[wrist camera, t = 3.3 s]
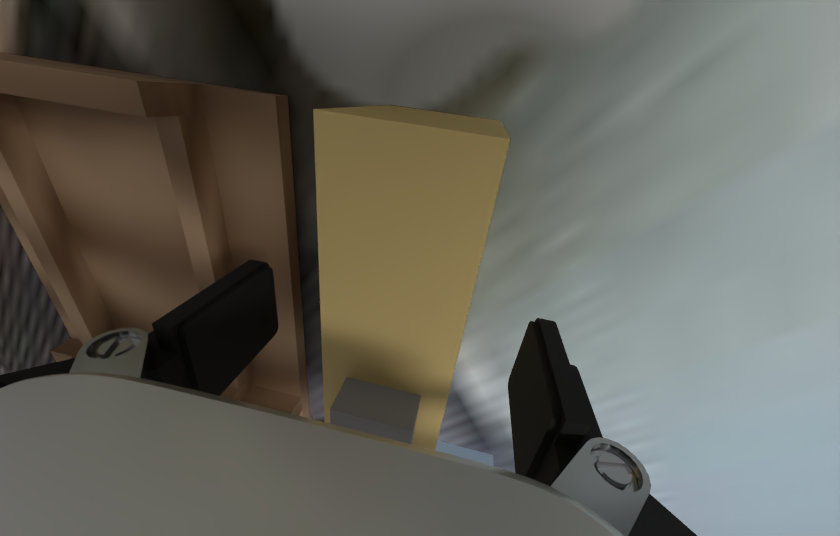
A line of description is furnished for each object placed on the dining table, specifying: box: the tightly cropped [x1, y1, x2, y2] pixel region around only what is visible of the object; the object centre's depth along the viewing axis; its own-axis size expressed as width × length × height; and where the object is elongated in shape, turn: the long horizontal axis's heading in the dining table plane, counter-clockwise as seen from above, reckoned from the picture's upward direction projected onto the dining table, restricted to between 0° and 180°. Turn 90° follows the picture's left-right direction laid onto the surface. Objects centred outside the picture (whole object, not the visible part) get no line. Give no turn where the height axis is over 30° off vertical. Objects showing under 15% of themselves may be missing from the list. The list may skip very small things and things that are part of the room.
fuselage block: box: [313, 105, 511, 450], centre depth 11 cm, size 12×4×7 cm, turn 173°
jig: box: [0, 52, 310, 418], centre depth 18 cm, size 28×16×3 cm, turn 173°
